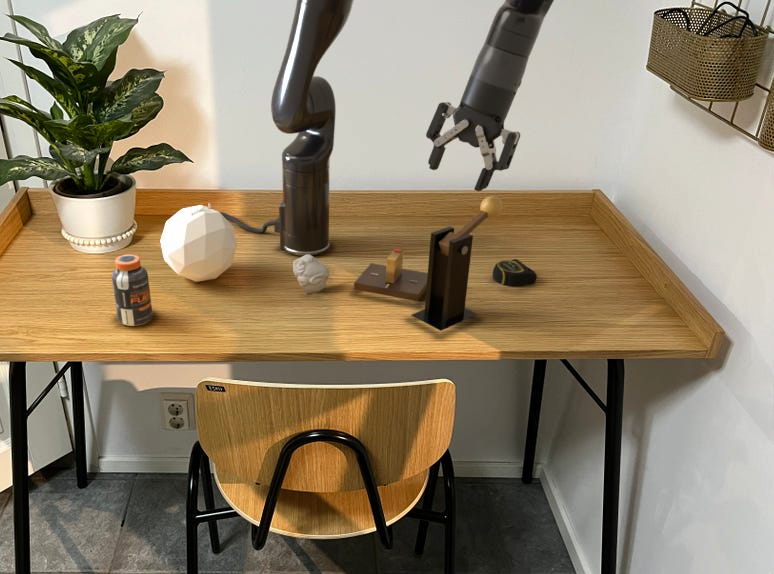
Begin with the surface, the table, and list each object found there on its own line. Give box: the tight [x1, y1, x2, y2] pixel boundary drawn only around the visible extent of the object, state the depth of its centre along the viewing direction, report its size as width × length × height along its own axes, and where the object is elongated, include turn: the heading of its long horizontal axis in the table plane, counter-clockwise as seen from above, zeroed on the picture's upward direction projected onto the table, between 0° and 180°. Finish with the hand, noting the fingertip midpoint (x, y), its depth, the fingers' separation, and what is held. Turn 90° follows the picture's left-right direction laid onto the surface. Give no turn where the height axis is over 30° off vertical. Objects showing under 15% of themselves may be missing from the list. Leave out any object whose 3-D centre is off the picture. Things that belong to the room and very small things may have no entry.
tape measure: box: [491, 258, 538, 288], centre depth 142 cm, size 7×7×4 cm
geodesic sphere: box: [159, 204, 237, 283], centre depth 144 cm, size 15×14×14 cm
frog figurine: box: [292, 254, 330, 295], centre depth 139 cm, size 6×7×7 cm
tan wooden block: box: [385, 248, 404, 284], centre depth 139 cm, size 5×2×5 cm, turn 155°
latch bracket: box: [411, 225, 478, 332], centre depth 127 cm, size 9×7×16 cm
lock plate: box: [353, 262, 428, 302], centre depth 140 cm, size 12×9×3 cm
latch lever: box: [439, 195, 504, 256], centre depth 125 cm, size 13×4×4 cm, turn 127°
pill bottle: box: [111, 254, 154, 327], centre depth 130 cm, size 6×6×11 cm
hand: (455, 179), depth 126 cm, fingers open, 8 cm apart
